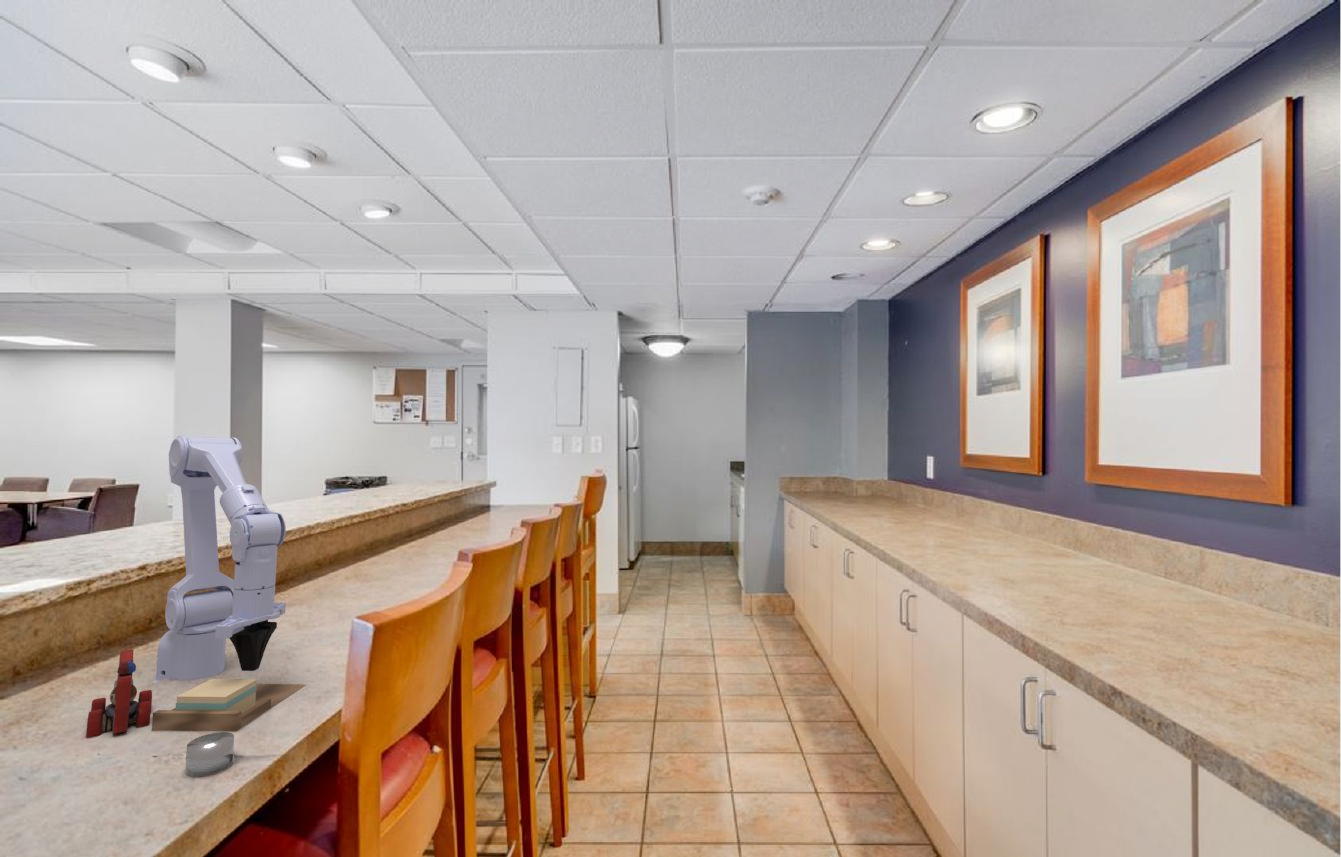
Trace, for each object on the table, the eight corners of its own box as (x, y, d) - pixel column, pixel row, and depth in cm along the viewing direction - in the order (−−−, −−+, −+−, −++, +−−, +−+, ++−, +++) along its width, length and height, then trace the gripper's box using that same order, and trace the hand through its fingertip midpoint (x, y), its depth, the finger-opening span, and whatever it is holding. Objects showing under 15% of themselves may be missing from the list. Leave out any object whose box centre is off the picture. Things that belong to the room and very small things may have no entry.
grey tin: (175, 777, 77) (176, 749, 78) (204, 758, 82) (205, 731, 83) (215, 778, 78) (216, 750, 78) (241, 758, 83) (242, 732, 83)
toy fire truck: (83, 751, 83) (88, 674, 84) (91, 720, 93) (96, 651, 93) (149, 737, 88) (154, 664, 88) (151, 708, 97) (155, 643, 98)
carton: (174, 727, 89) (176, 696, 89) (209, 707, 96) (211, 678, 96) (223, 728, 89) (225, 697, 89) (255, 708, 96) (257, 679, 96)
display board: (151, 737, 88) (152, 712, 88) (236, 689, 106) (237, 669, 106) (235, 738, 88) (237, 713, 88) (306, 690, 106) (307, 669, 106)
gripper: (250, 597, 93) (245, 686, 93) (304, 578, 108) (300, 655, 107) (203, 596, 93) (198, 686, 93) (264, 577, 108) (259, 654, 107)
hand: (250, 669), depth 100 cm, fingers closed
